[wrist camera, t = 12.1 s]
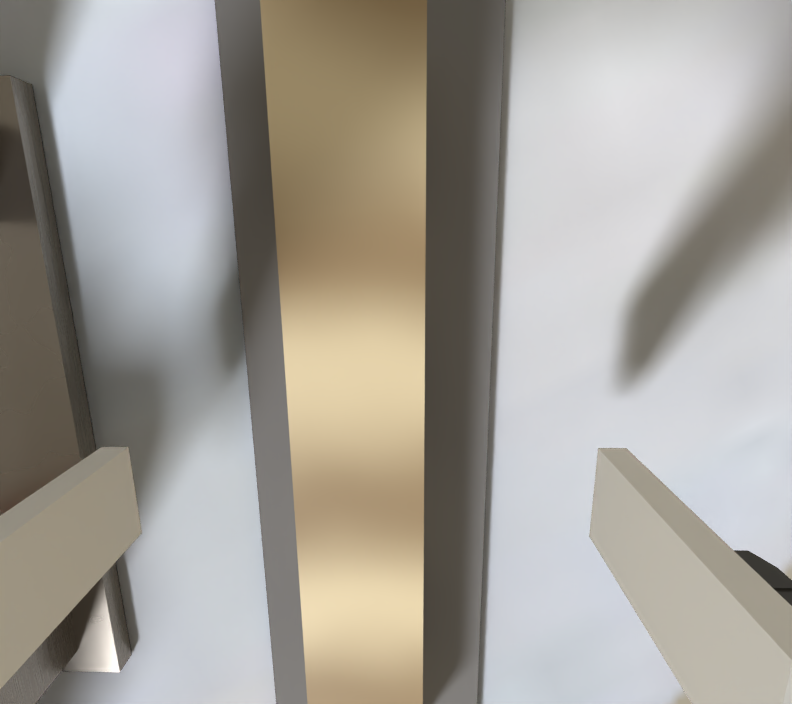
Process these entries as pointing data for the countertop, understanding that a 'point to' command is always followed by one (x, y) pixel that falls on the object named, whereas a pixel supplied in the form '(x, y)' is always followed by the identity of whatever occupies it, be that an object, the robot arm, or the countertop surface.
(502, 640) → the countertop surface
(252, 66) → the mat
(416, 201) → the rail
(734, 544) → the countertop surface
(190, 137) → the countertop surface
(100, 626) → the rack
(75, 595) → the robot arm
